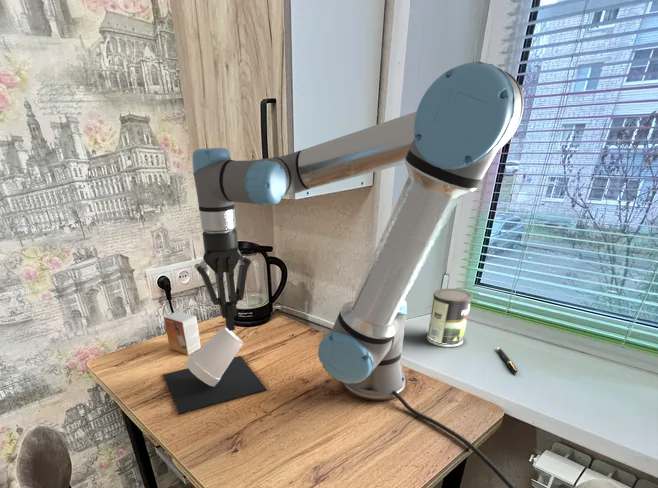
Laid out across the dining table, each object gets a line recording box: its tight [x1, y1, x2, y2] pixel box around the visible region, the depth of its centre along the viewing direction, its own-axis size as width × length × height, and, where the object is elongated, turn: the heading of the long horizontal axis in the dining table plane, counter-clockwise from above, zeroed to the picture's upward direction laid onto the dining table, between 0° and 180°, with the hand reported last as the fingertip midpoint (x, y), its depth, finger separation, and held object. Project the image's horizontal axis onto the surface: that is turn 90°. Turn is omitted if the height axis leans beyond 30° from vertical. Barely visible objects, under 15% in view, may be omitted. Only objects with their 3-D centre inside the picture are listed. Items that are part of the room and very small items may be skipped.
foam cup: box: [184, 326, 244, 386], centre depth 103 cm, size 10×9×13 cm
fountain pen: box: [497, 346, 518, 374], centre depth 111 cm, size 14×1×2 cm, turn 175°
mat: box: [163, 355, 268, 415], centre depth 107 cm, size 20×22×1 cm
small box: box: [163, 310, 202, 356], centre depth 122 cm, size 8×6×10 cm
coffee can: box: [426, 288, 473, 348], centre depth 120 cm, size 10×10×14 cm
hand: (230, 328), depth 103 cm, fingers closed
